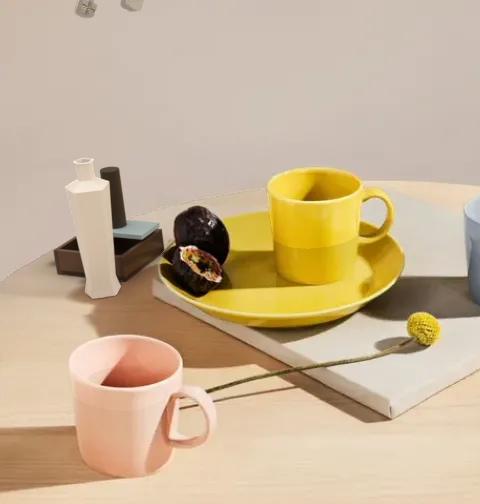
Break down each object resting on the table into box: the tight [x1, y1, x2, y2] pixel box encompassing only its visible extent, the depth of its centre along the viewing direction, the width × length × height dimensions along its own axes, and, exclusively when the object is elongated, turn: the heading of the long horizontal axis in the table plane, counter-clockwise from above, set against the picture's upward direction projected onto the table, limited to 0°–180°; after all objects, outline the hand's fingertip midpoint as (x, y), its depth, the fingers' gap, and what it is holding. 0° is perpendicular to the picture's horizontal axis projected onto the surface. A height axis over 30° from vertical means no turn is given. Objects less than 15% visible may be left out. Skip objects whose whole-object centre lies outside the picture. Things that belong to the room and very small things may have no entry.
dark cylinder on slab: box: [99, 166, 160, 240], centre depth 111 cm, size 9×4×8 cm, turn 73°
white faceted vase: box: [64, 157, 122, 300], centre depth 101 cm, size 5×4×15 cm
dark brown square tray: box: [52, 228, 165, 282], centre depth 111 cm, size 9×9×3 cm
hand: (105, 12), depth 106 cm, fingers open, 8 cm apart
